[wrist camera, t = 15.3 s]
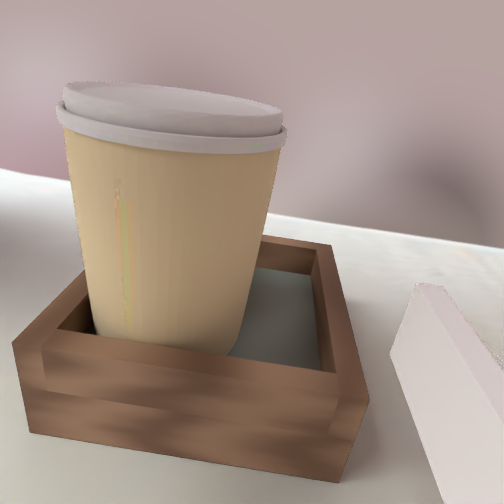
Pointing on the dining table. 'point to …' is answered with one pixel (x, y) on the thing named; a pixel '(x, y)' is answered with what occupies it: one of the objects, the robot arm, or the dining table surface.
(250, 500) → the dining table surface
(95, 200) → the coffee cup
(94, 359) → the wooden tray
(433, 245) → the dining table surface
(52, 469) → the dining table surface
